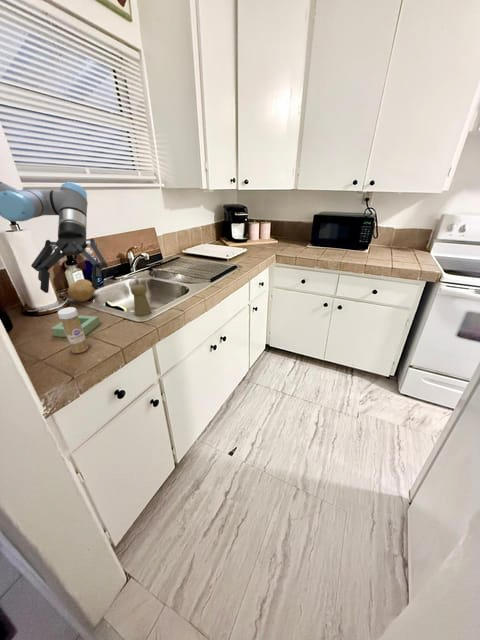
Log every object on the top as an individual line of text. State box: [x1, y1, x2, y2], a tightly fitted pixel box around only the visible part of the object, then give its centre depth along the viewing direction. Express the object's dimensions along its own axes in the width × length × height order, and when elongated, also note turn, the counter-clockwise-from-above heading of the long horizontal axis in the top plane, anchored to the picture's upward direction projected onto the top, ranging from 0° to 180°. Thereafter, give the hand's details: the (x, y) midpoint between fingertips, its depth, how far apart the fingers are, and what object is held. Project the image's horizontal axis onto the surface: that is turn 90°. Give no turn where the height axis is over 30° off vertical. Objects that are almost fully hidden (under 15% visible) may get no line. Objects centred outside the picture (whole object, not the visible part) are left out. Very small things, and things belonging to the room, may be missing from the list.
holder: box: [51, 314, 101, 338], centre depth 89 cm, size 10×10×3 cm
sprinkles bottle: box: [57, 306, 89, 354], centre depth 76 cm, size 5×5×13 cm
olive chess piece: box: [130, 284, 152, 317], centre depth 99 cm, size 6×6×11 cm
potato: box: [67, 278, 96, 303], centre depth 111 cm, size 10×14×8 cm
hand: (70, 289), depth 77 cm, fingers open, 13 cm apart
